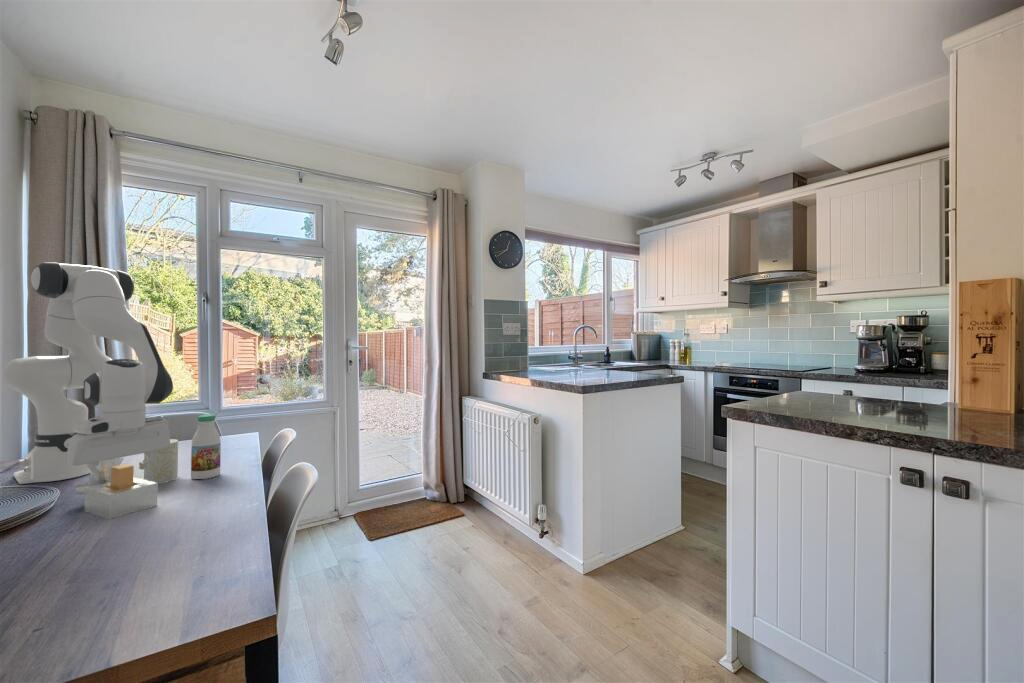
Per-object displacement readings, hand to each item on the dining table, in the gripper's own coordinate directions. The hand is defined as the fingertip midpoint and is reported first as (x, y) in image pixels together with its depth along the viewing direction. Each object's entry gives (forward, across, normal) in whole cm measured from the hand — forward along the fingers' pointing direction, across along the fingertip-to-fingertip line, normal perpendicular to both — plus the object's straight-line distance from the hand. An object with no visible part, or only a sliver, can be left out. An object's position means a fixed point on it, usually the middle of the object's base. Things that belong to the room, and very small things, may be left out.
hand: (122, 473), depth 108 cm
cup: (+9, -17, -17) cm, 26 cm away
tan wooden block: (+9, 0, 0) cm, 9 cm away
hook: (+9, -6, -21) cm, 24 cm away
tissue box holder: (+9, 0, -4) cm, 10 cm away
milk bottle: (+9, -25, -8) cm, 28 cm away
